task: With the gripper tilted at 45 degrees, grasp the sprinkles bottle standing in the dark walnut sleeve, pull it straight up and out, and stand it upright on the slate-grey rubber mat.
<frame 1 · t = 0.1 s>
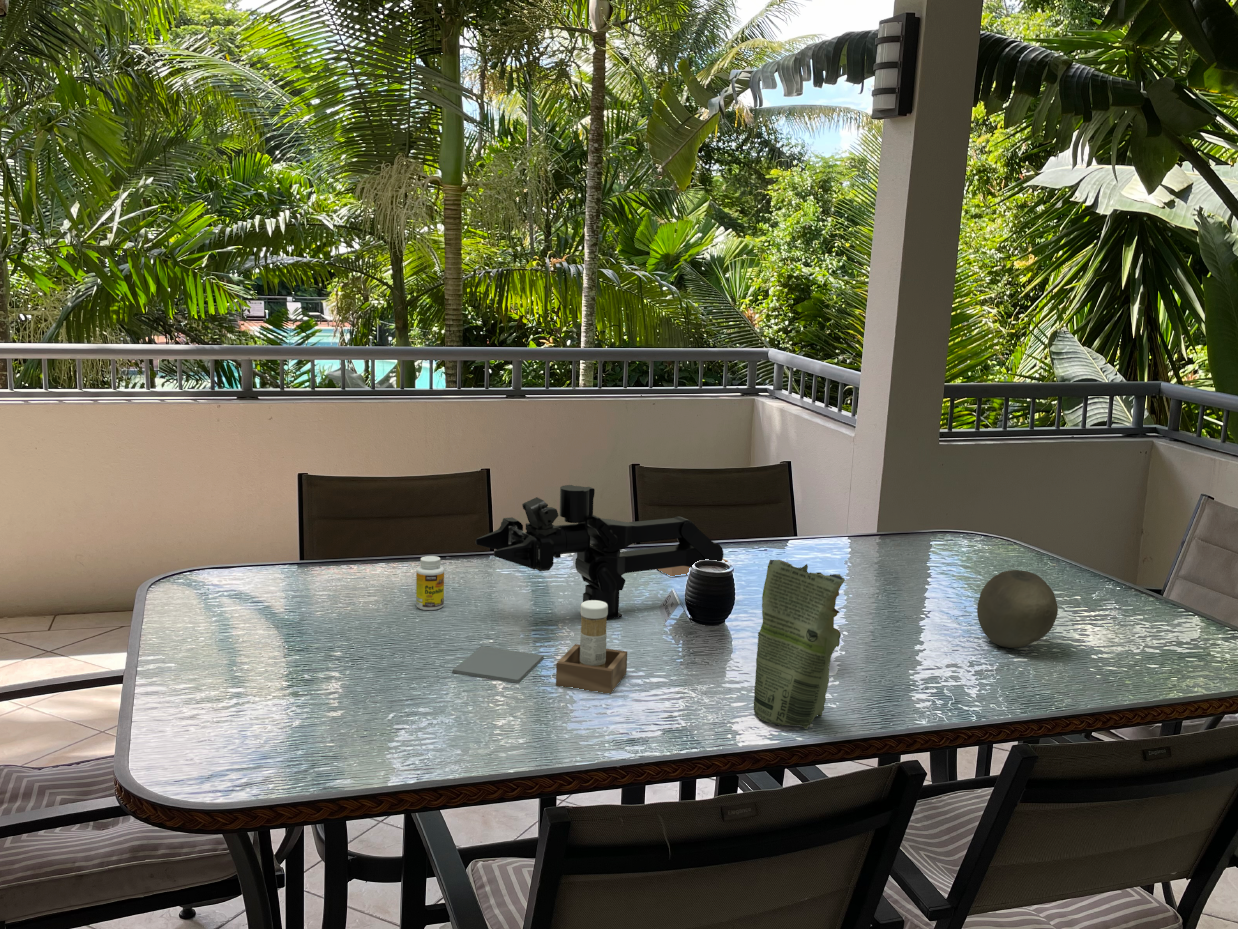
hand: (484, 547, 186), 17 cm above the table, tool horizontal, fingers open, 9 cm apart
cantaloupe: (1012, 648, 192), on the table
wooden square frame: (682, 565, 239), on the table
supplement bottle: (430, 607, 202), on the table
rose: (682, 567, 239), resting in wooden square frame
grey mat: (499, 665, 173), on the table
pouch: (791, 718, 156), on the table
walnut sleeve: (591, 679, 168), on the table
sprinkles bottle: (591, 680, 168), resting in walnut sleeve
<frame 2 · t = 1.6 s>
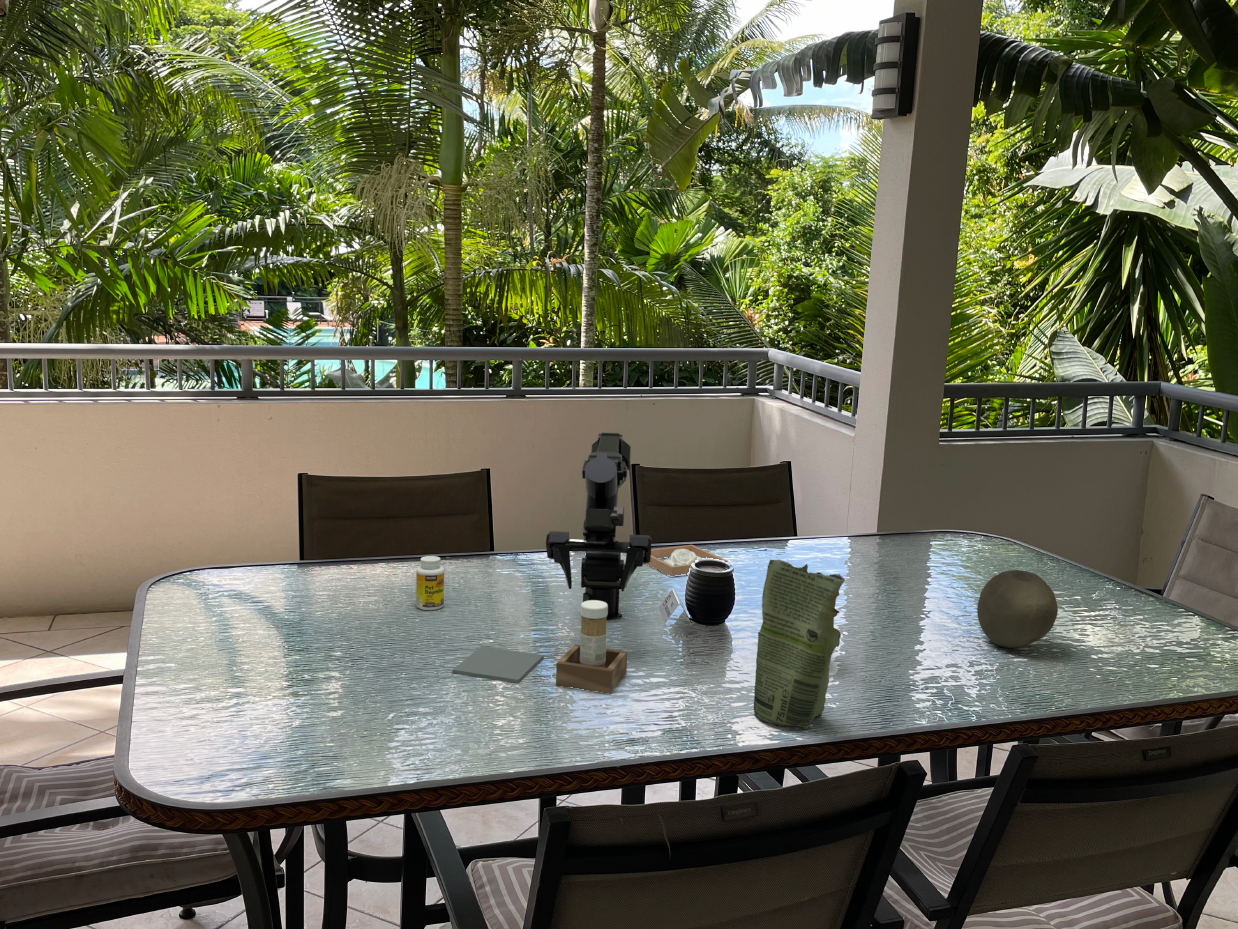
hand: (596, 589, 173), 13 cm above the table, tool tilted 45°, fingers open, 9 cm apart
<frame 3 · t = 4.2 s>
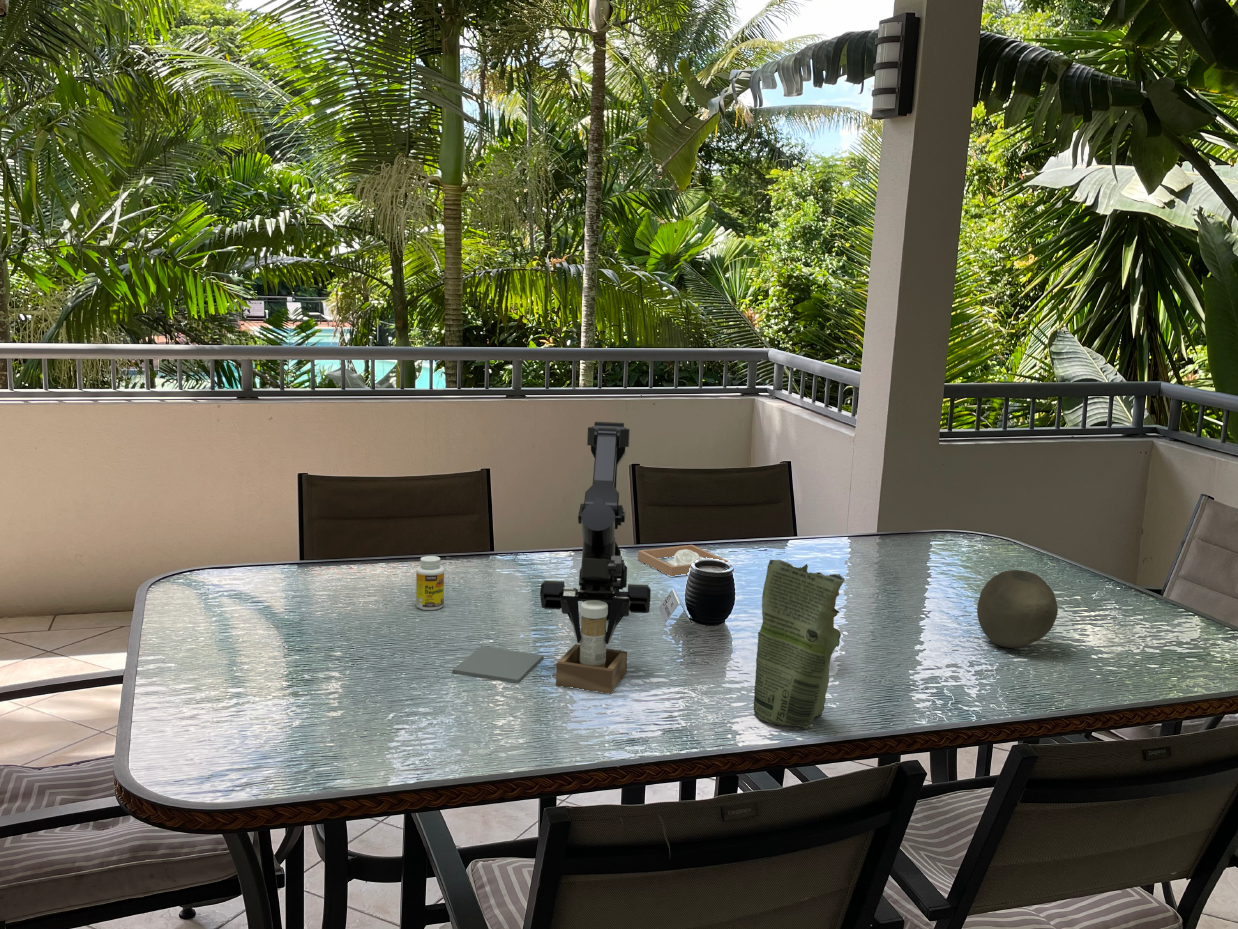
hand: (592, 642, 165), 7 cm above the table, tool tilted 45°, fingers closed on sprinkles bottle, 4 cm apart
sprinkles bottle: (591, 680, 168), resting in walnut sleeve, touching gripper
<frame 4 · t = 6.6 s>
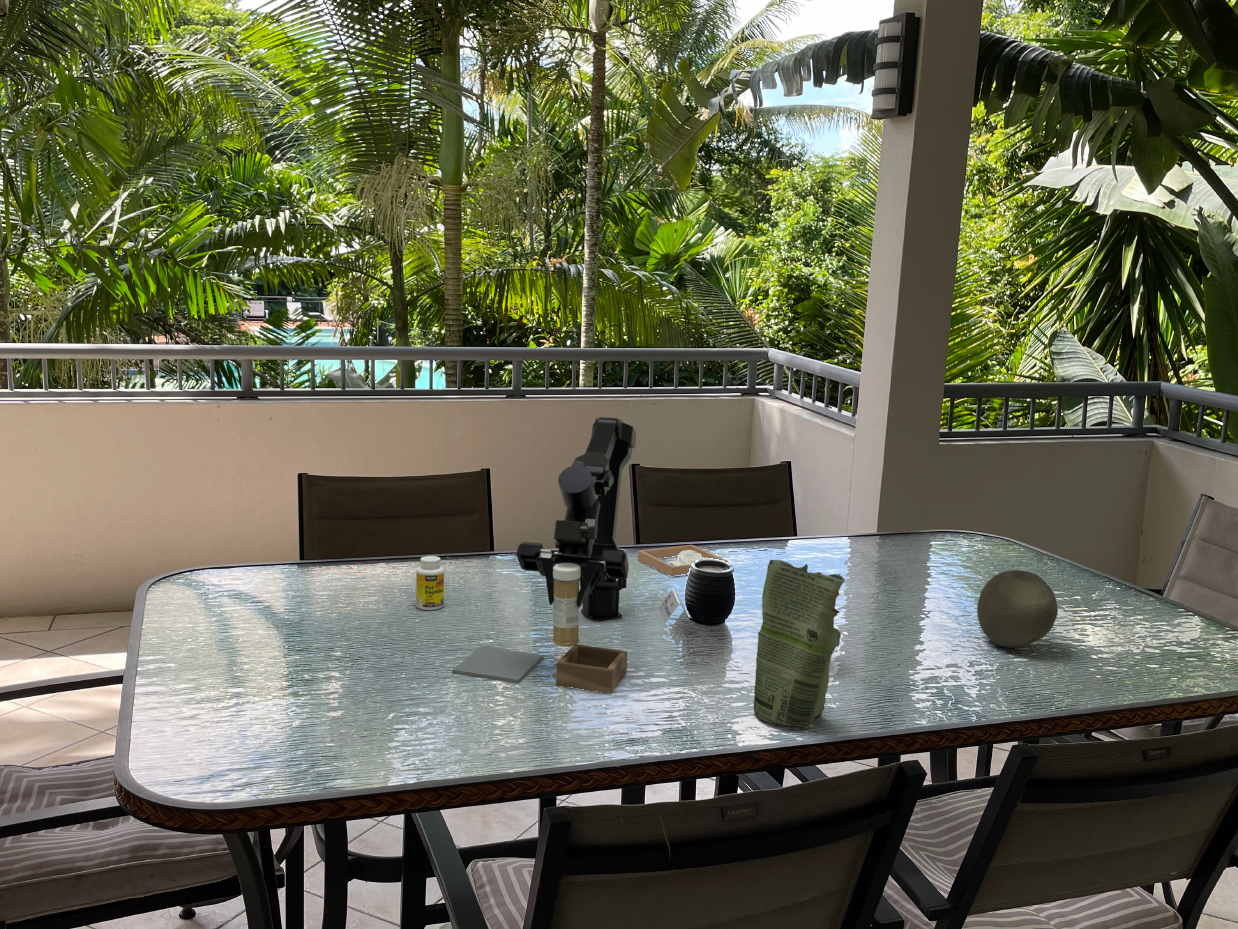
hand: (564, 605, 165), 13 cm above the table, tool tilted 45°, fingers closed on sprinkles bottle, 4 cm apart
sprinkles bottle: (565, 643, 168), point 6 cm above the table, touching gripper
when the fingers open (9 cm above the table, at t = 9.1 s): sprinkles bottle stays where it is, resting on grey mat.
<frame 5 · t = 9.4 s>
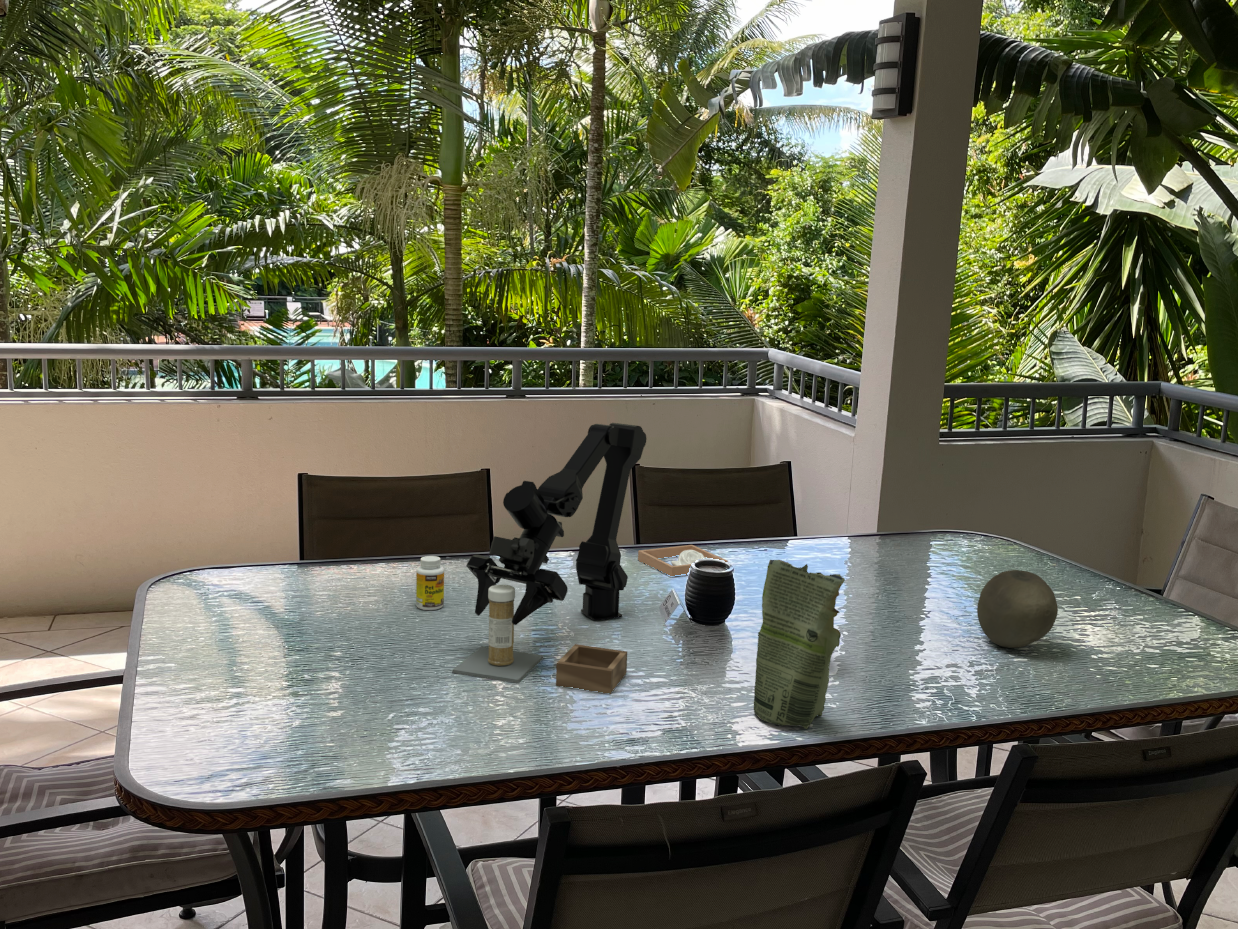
hand: (494, 619, 170), 9 cm above the table, tool tilted 45°, fingers open, 8 cm apart
sprinkles bottle: (500, 663, 173), resting on grey mat
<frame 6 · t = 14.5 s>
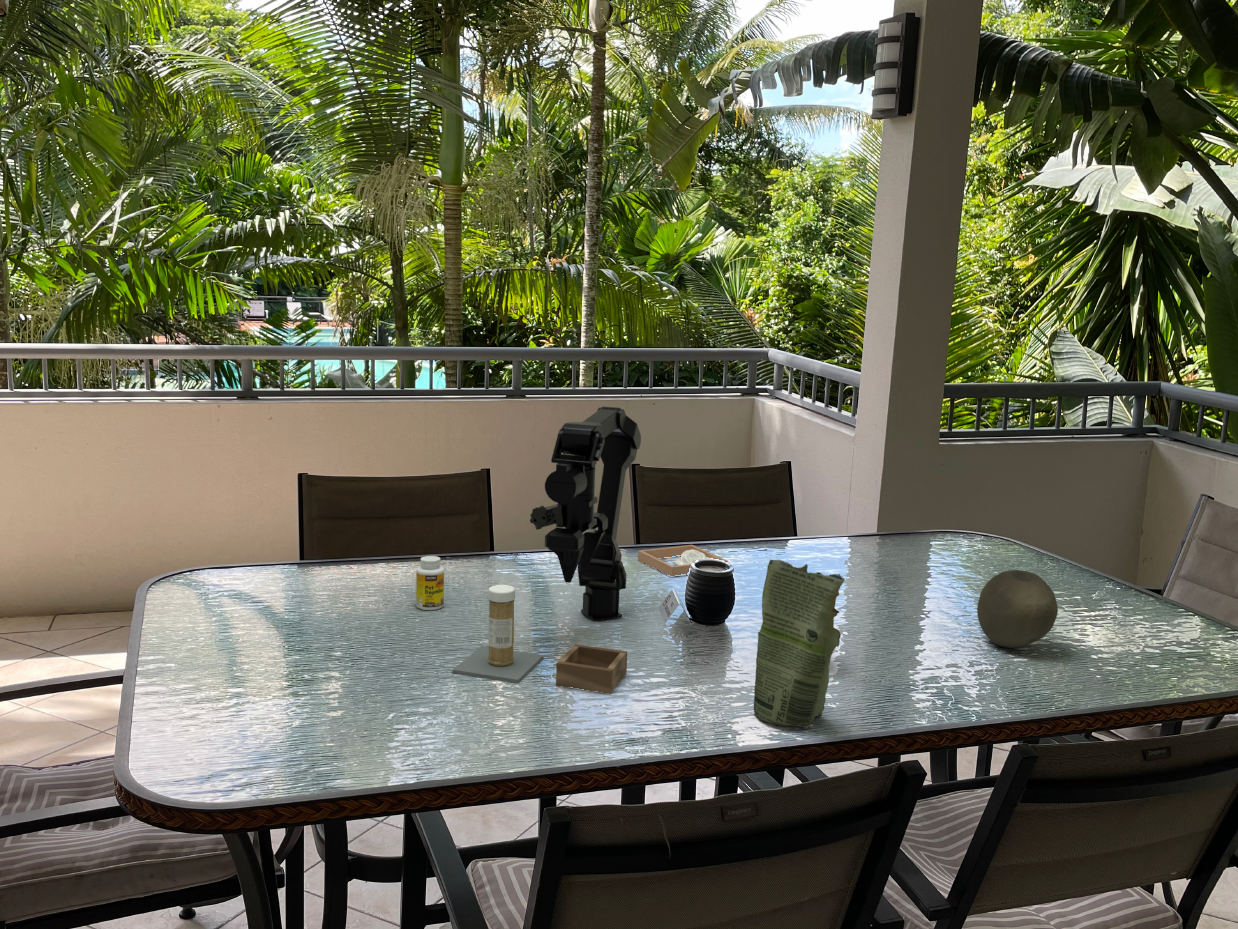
hand: (576, 575, 183), 13 cm above the table, tool pointing down, fingers open, 9 cm apart
at the end: sprinkles bottle inside the target area on the grey mat (0.3 cm from its centre), point 0.4 cm above the grey mat's base; sprinkles bottle tilted 0°; the gripper is holding nothing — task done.
